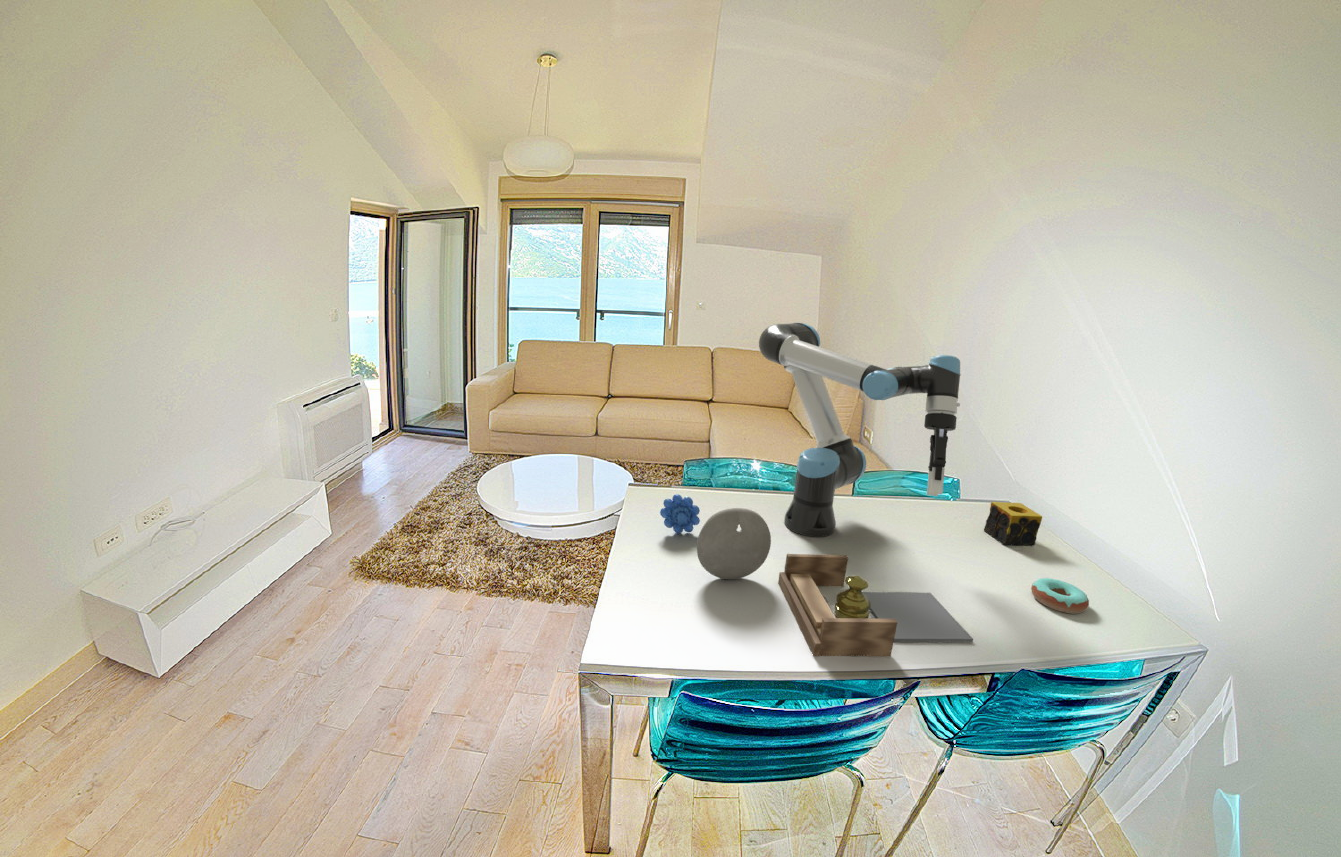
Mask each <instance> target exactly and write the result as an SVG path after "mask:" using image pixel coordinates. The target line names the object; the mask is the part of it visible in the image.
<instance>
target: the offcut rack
mask: <svg viewBox="0 0 1341 857" xmlns="http://www.w3.org/2000/svg"><path fill="white" fill-rule="evenodd" d="M848 562H849V556H848V555H847V554H814V553H813V554H812V553H811V554H810V553H809V554H806V553H805V554H803V553H799V554H798V553H786V558H785V566H784V572H783V571H779V574H778V581H777V583H778V586H779V588H780V591H781V592H782V594H783V596H784V598H785V601H786V603H787V605H788V606H789V609H790V611H791V613H792V615H793V617H794V619H795V621H796V623H797V624H798V628H799V630H800V632H801V634H802V635H803V637H804V640H805V642H806V644H807V646H808V648H809V650H810V652H812V653H811V655H812V654H813V655H812V657H891V655H892V652H893V648H894V647H893V646H894V643H895V642H894V637H895V632H896V627H897V621H896V620H895V619H876V618H868V619H864V618H837V617H836V615H835V614H834V613H833V611H832V609H831V608H830V606H829V604H828V603H827V601H826V600H825V598H824V596H823V594H822V593H821V591H820V589H819V588H818V587H836V588H837V587H840V588H841V587H845V586H844V585H845V579H846V573H847V568H848V567H847V566H848Z"/></svg>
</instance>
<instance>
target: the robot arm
mask: <svg viewBox="0 0 1341 857" xmlns="http://www.w3.org/2000/svg"><path fill="white" fill-rule="evenodd" d="M758 347H759V348H758V349H759V351H760V353H761V355H762V357H764V358H765V359H766V360H768V361H770V362H772V363H775V364H778V365H781V366H782V367H783V368H784V370H785V371H786V372H788V373H790V374H791V375H792V378H793V381H794V384H795V387H796V389H797V392H798V394H799V397H800V400H801V402H802V406H803V408H804V411H805V414H806V417H807V419H808V421H809V423H810V424H809V425H810V427H811V430H812V432H813V435H814V437H815V440H816V446H815V447H811V448H808V449H804V450H802V452H801V453H800V454H799V456H798V460H797V464H796V473H795V481H794V482H795V483H794V491H793V498H792V500H791V502H790V505H789V507H788V509H787V510H786V513H785V515H784V521H783V523H784V525H785V527H787V528H788V529H789V530H790V531H792V532H794V533H796V534H799V535H802V536H807V537H814V538H815V537H816V538H818V537H819V538H822V537H823V538H824V537H828V536H831V535H833V534H834V533H835V531H836V526H837V524H836V516H835V511H834V506H833V505H834V498H835V490H837V489H839V488H842V487H844V486H848V485H851V484H853V483H855V482H857V481H858V480H859V479H861V478H862V477H863V476H864V474H865V471H866V470H867V459H866V458H867V457H866V455H865V453H864V451H863V450H862V449H861V448H860V447H858V446H856V445H854V443H853V439H852V438H851V436H849V435H847V434H845V433H844V430H843V427H842V425H841V423H840V420H839V418H838V416H837V412H836V409H835V407H834V405H833V402H832V399H831V396H830V393H829V392H828V389H827V386H826V383H825V381H824V378H826V379H828V380H832V381H835V382H837V383H839V384H842V385H845V386H847V387H851V388H852V389H855V390H858V391H861V392H863V393H864V394H865V395H866V397H867V398H869V399H871V400H872V401H885V400H889V399H892V398H895V397H900V396H904V395H911V394H926V402H925V413H926V414H925V417H924V428H925V429H927V430H929V431H930V430H933V434H931V435H930V438H929V443H930V445H929V451H930V455H929V464H928V478H927V486H926V489H927V490H926V496H934V497H938V496H939V495H943V494H944V493H943V492H944V480H945V467H946V464H947V459H946V458H947V447H948V441H949V436H948V435H947V434H948V432H949V431H950V432H951V431H955V430H956V428H957V416H956V415H957V412H958V407H960V406H961V403H960V402H958V399H959V390H960V381H961V376H962V375H961V360H960V359H959V358H958V357H957V356H953V355H950V354H949V355H948V354H942V355H941V354H940V355H939V354H938V355H935V356H932V357H931V358H930V359H929V362H928V364H925V365H916V366H894V367H889V368H887V369H886V368H883V367H880V366H877V365H874V364H871V363H868V362H865V361H863V360H859V359H857V358H854V357H851V356H848V355H845V354H841V353H839V352H835V351H833V350H831V349H826V348H823V347H821V337H820V335H819V333H818V331H817V330H816V329H815V328H814V327H813V326H812V325H810V324H807V323H802V322H793V323H776V324H775V323H774V324H772V325H769V326H767V327H765V329H764V330H763V331H762V333H761V334H760V336H759V339H758Z"/></svg>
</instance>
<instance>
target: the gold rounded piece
mask: <svg viewBox="0 0 1341 857" xmlns="http://www.w3.org/2000/svg"><path fill="white" fill-rule="evenodd" d="M844 583H845V584H846V585H847V586H848V588H847V589H845V590H842V591H840V592H838V594H837V595H836V602H835V605H834V606H835V608H834V616H835V618H864V619H869V616H870V613H871V611H870V610H869V609H870V607H871V602H870V600H869V599H868V598H867V597H866V596H865V595H864V594H863V593H862V592H863V590H864V591H865V590H866V589H868V588H869V582H868V581H867V580H866V579H865V578H863V577H861V576H860V575H858V574H857V575H854V574H853V575H849V576H845V581H844Z"/></svg>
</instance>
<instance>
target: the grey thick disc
mask: <svg viewBox="0 0 1341 857" xmlns="http://www.w3.org/2000/svg"><path fill="white" fill-rule="evenodd" d="M739 527H740V530H738V528H739ZM771 539H772V537H771V532H770V528H769V526H768V524H767V522H766V520H765V519H764V518H763V517H762V515H760V514H759V513H758V512H756V511H754V510H752V509H747V508H743V507H731V508H726V509H722V510H720V511H717V512H716V513H714V514H712V515H711V516H710V517H709V518H708V519H707V520H706V521H705V523H704V524H703V526H702V528H701V529H700V531H699V535H698V537H697V541H696V553H697V554H696V555H697V558H698V561H699V563H700V565H701V567H702V568H703V569H704V570H705V571H706V572H707V573H709V575H712V576H714V577H716V578H720V579H723V580H738V579H742V578H745V577H748V576H749V575H751V574H753V573H755V572H756V571H757V570H759V569H760V568H761V566H763V564H764V563H765V562H766V560H767V558H768V556H769V553H770V550H771V544H772V540H771Z"/></svg>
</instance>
